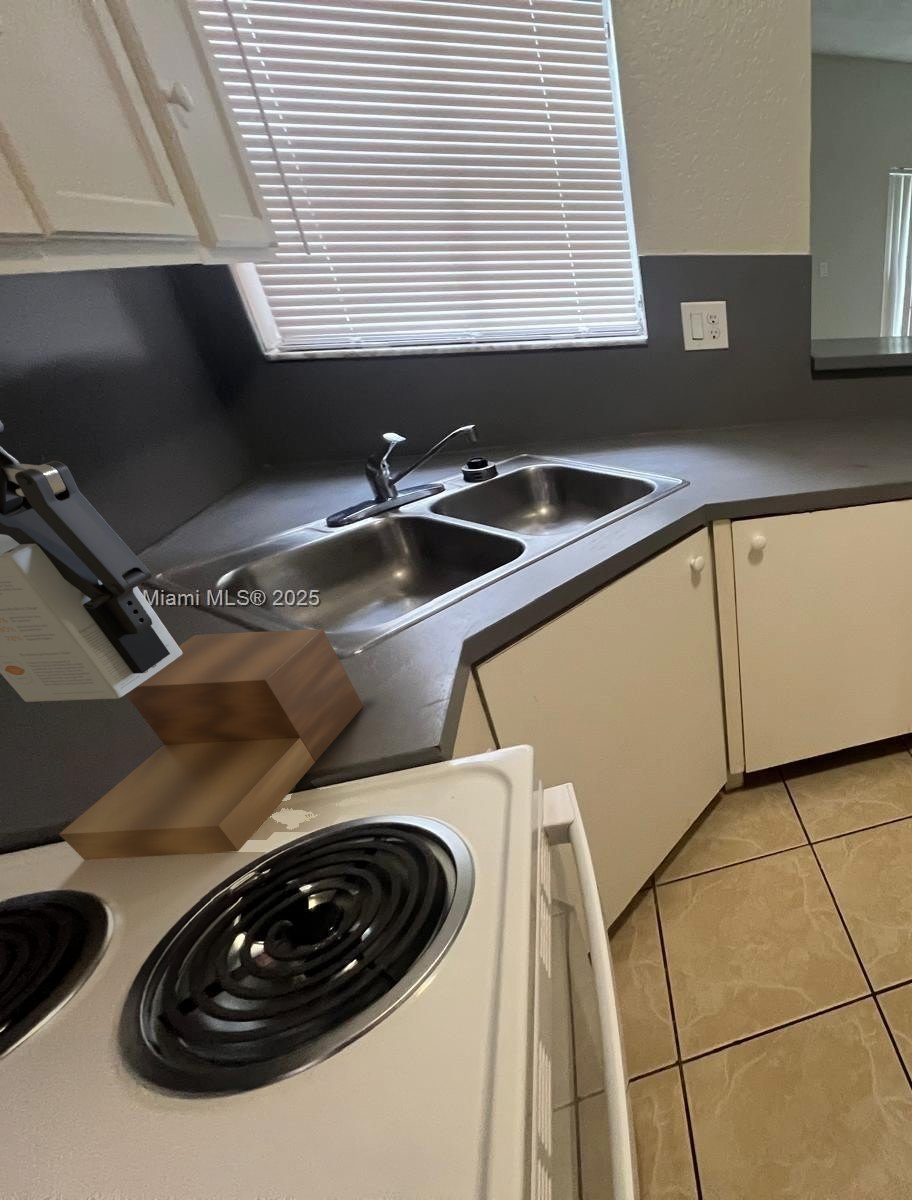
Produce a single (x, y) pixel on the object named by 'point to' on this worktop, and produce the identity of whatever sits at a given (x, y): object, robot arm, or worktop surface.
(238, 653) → the shelf stand
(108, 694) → the small box
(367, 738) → the worktop surface
